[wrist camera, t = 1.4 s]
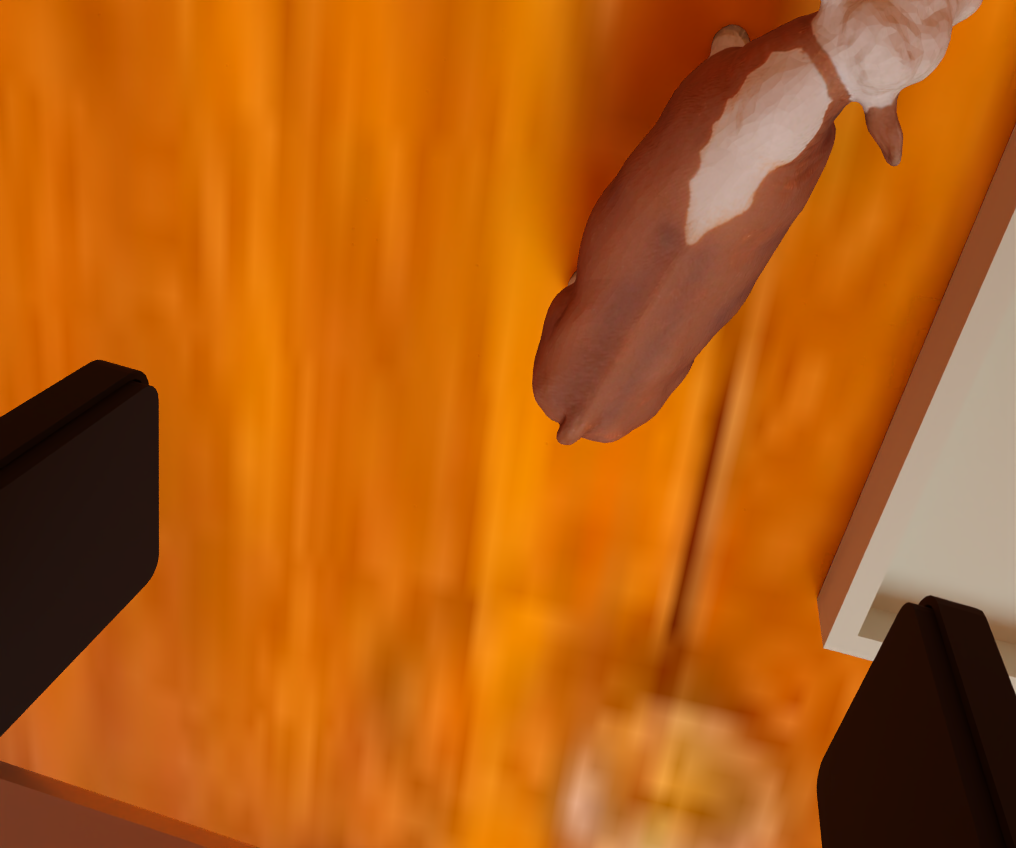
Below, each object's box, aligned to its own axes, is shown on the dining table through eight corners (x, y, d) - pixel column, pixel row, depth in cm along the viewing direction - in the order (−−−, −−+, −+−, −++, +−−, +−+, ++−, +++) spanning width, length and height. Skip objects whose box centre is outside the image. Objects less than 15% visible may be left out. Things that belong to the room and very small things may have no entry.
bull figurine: (956, -11, 22) (1062, 4, 15) (632, 382, 29) (600, 521, 22) (814, -120, 22) (854, -156, 15) (519, 304, 28) (449, 419, 21)
